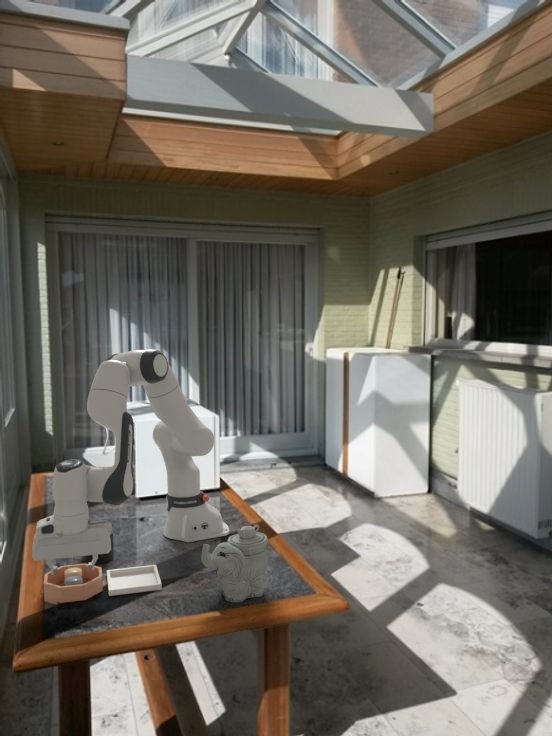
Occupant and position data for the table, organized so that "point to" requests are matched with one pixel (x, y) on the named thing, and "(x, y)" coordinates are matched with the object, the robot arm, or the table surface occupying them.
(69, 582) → the slate pebble
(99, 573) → the bowl
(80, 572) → the sand pebble
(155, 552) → the table surface
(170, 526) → the robot arm
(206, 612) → the table surface
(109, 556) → the mug
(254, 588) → the teapot
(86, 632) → the table surface
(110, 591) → the tray
